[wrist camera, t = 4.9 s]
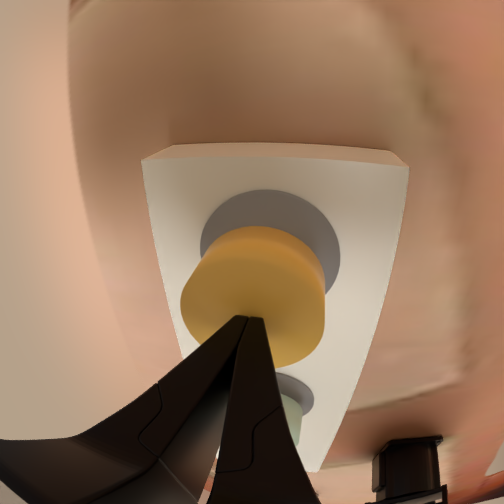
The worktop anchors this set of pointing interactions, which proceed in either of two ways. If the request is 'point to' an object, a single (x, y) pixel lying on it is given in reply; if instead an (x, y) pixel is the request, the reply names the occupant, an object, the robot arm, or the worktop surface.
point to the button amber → (259, 290)
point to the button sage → (293, 417)
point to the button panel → (302, 227)
